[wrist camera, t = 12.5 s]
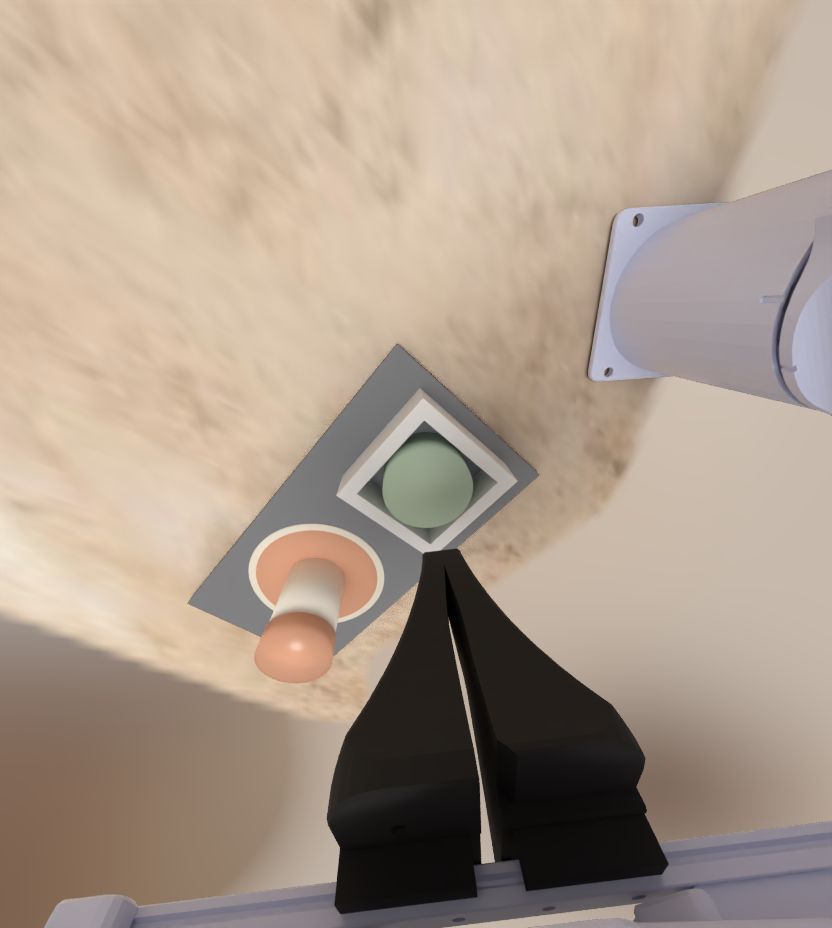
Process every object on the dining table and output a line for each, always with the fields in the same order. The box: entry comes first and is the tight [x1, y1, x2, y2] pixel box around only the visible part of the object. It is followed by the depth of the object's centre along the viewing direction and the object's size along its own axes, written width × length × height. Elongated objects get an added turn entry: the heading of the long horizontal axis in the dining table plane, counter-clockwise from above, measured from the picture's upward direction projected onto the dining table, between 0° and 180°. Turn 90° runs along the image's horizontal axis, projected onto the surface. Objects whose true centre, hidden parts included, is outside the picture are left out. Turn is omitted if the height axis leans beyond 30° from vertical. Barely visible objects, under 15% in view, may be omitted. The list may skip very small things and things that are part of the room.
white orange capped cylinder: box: [254, 558, 345, 683], centre depth 21 cm, size 4×4×6 cm
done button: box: [382, 433, 473, 528], centre depth 19 cm, size 5×5×2 cm
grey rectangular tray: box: [187, 344, 539, 656], centre depth 22 cm, size 24×12×3 cm, turn 138°
